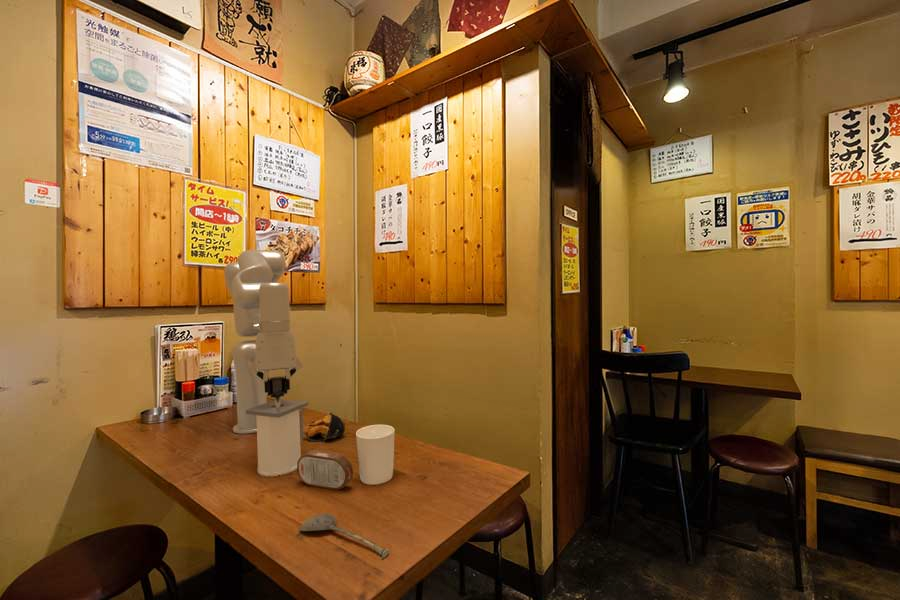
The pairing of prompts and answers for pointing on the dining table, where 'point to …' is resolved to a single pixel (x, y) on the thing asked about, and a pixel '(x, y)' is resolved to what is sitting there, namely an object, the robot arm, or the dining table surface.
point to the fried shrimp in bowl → (325, 428)
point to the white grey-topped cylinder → (278, 436)
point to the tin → (325, 469)
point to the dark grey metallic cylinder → (277, 389)
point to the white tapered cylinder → (375, 453)
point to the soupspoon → (335, 529)
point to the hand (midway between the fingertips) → (277, 393)
